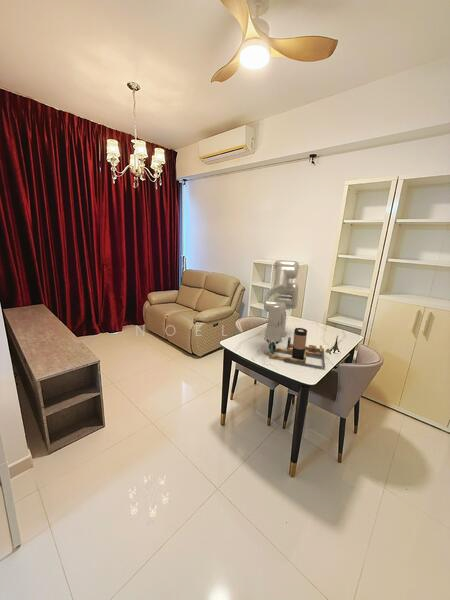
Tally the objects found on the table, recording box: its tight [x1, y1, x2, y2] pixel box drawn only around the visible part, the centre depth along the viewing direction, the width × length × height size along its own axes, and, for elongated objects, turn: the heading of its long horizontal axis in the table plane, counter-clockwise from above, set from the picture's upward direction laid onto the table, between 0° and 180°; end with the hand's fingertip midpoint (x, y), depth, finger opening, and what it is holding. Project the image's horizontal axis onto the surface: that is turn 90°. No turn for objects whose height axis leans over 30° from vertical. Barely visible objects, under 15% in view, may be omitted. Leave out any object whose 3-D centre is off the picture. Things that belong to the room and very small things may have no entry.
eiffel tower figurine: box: [324, 334, 341, 355], centre depth 168 cm, size 15×10×13 cm
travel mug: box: [291, 327, 308, 360], centre depth 154 cm, size 8×8×20 cm
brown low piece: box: [268, 341, 307, 363], centre depth 157 cm, size 22×12×8 cm, turn 70°
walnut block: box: [307, 344, 317, 353], centre depth 164 cm, size 5×5×5 cm
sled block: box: [286, 337, 323, 356], centre depth 166 cm, size 22×9×8 cm, turn 70°
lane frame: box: [283, 347, 326, 371], centre depth 160 cm, size 24×26×2 cm
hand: (272, 349), depth 161 cm, fingers closed on brown low piece
